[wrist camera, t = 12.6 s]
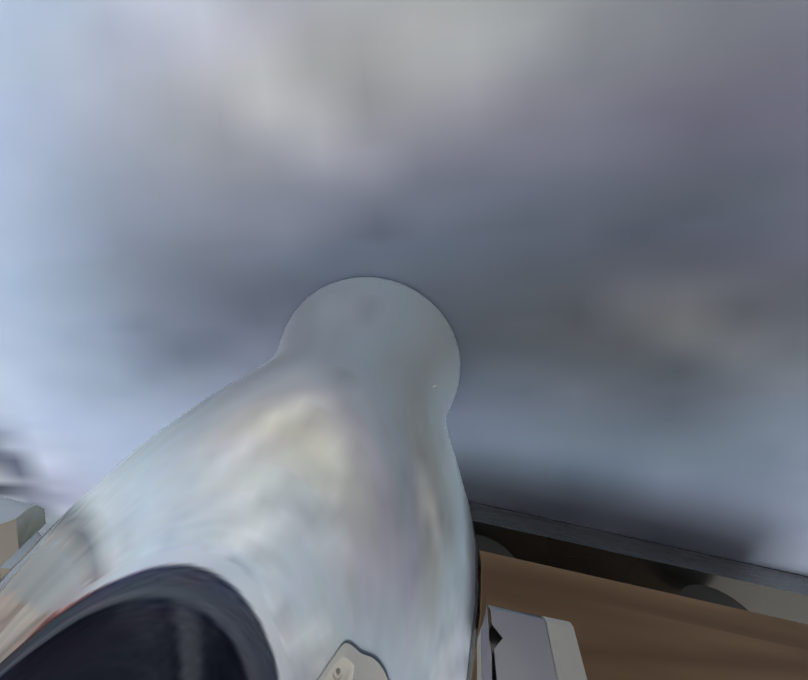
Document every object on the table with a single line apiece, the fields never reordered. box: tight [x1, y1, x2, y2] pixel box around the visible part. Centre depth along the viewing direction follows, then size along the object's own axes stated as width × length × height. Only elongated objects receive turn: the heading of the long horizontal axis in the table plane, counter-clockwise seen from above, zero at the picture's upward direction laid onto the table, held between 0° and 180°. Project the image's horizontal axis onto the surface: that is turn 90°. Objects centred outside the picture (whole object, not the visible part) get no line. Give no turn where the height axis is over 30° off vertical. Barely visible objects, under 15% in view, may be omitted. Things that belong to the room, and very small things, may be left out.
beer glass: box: [0, 277, 493, 680], centre depth 11 cm, size 7×7×15 cm
